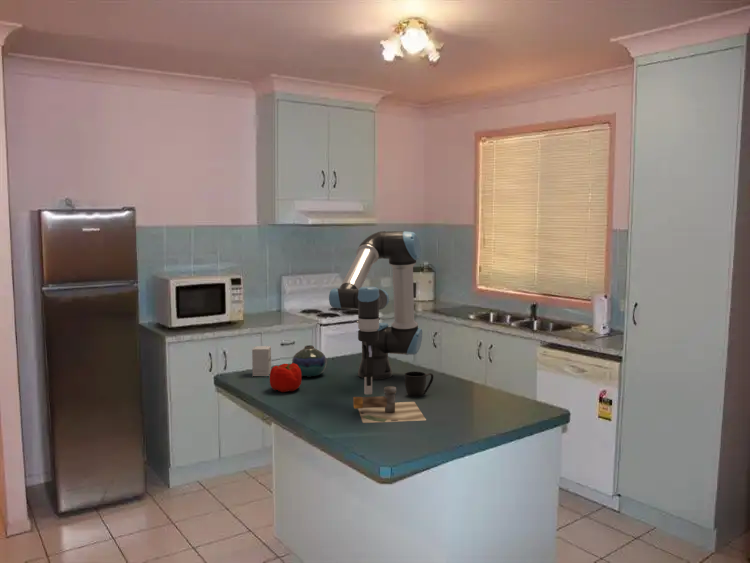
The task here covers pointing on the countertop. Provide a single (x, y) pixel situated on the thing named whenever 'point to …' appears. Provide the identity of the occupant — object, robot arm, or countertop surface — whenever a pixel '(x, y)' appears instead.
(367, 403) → the peg lever
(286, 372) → the tomato
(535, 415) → the countertop surface
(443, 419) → the countertop surface
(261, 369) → the supplement box
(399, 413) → the dial board
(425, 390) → the mug
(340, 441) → the countertop surface
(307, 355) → the vase
